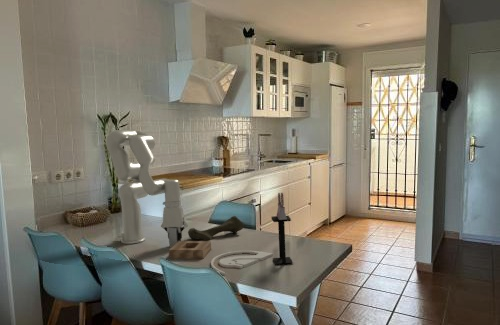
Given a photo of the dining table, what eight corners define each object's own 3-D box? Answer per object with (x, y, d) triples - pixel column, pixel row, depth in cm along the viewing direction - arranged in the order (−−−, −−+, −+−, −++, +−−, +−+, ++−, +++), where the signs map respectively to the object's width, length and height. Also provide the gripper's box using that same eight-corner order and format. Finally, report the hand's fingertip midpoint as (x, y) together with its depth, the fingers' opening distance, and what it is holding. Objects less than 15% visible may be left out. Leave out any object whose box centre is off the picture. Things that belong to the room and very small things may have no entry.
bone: (189, 230, 204) (243, 215, 214) (186, 227, 214) (237, 213, 223) (194, 249, 204) (247, 232, 214) (190, 245, 214) (241, 230, 224)
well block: (169, 258, 180) (168, 249, 180) (179, 249, 194) (179, 241, 193) (203, 258, 177) (202, 250, 177) (211, 249, 191) (210, 241, 191)
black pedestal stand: (272, 258, 173) (269, 191, 171) (289, 257, 174) (286, 190, 172) (275, 266, 163) (273, 195, 161) (293, 265, 164) (291, 194, 161)
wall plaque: (273, 253, 177) (223, 272, 156) (273, 257, 177) (223, 276, 156) (244, 246, 190) (194, 263, 169) (244, 249, 190) (194, 266, 169)
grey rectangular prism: (169, 247, 197) (168, 228, 196) (174, 243, 203) (173, 224, 203) (177, 247, 196) (176, 228, 195) (181, 243, 203) (180, 224, 202)
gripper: (154, 205, 195) (156, 242, 197) (186, 205, 192) (188, 242, 194) (160, 203, 203) (162, 237, 204) (191, 202, 200) (193, 237, 201)
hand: (175, 239), depth 199 cm, fingers closed on grey rectangular prism, 4 cm apart
